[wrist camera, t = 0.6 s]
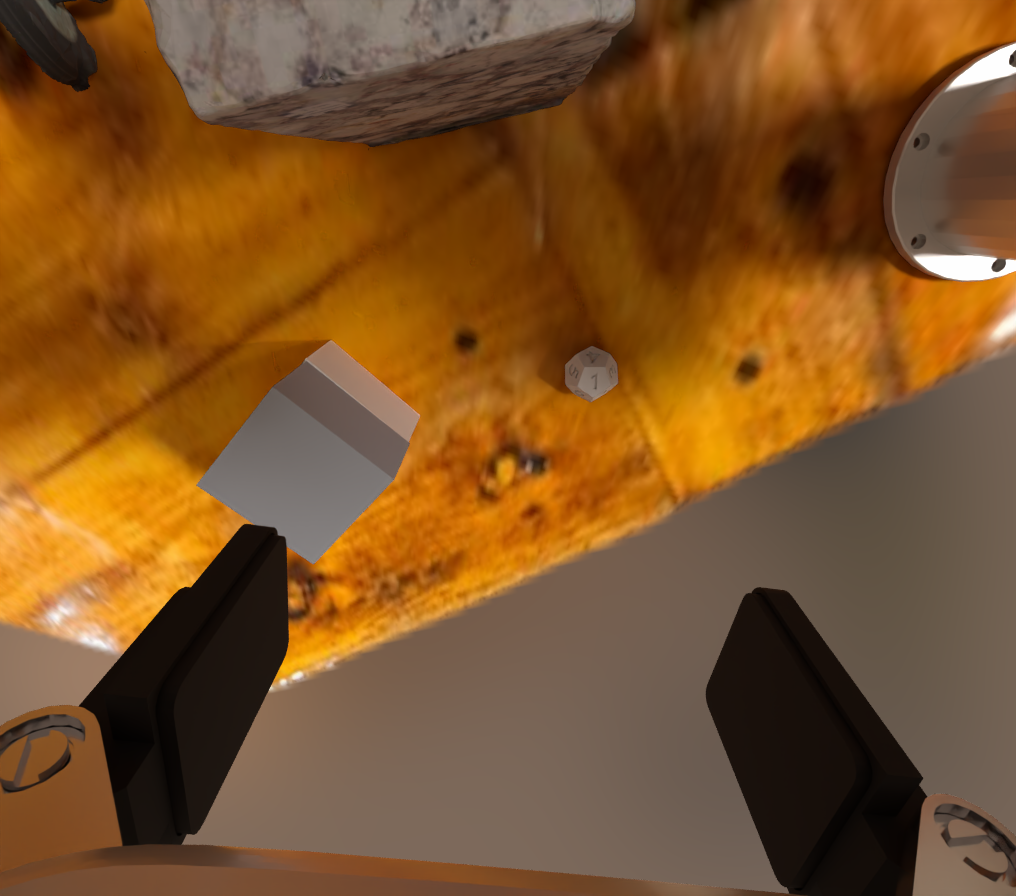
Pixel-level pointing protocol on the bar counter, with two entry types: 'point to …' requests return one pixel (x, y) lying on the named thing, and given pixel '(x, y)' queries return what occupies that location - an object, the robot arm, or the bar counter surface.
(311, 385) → the upper block
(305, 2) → the stone block
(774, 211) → the bar counter surface
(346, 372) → the lower block
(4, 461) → the bar counter surface
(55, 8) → the artificial flower
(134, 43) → the bar counter surface
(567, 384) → the game die
